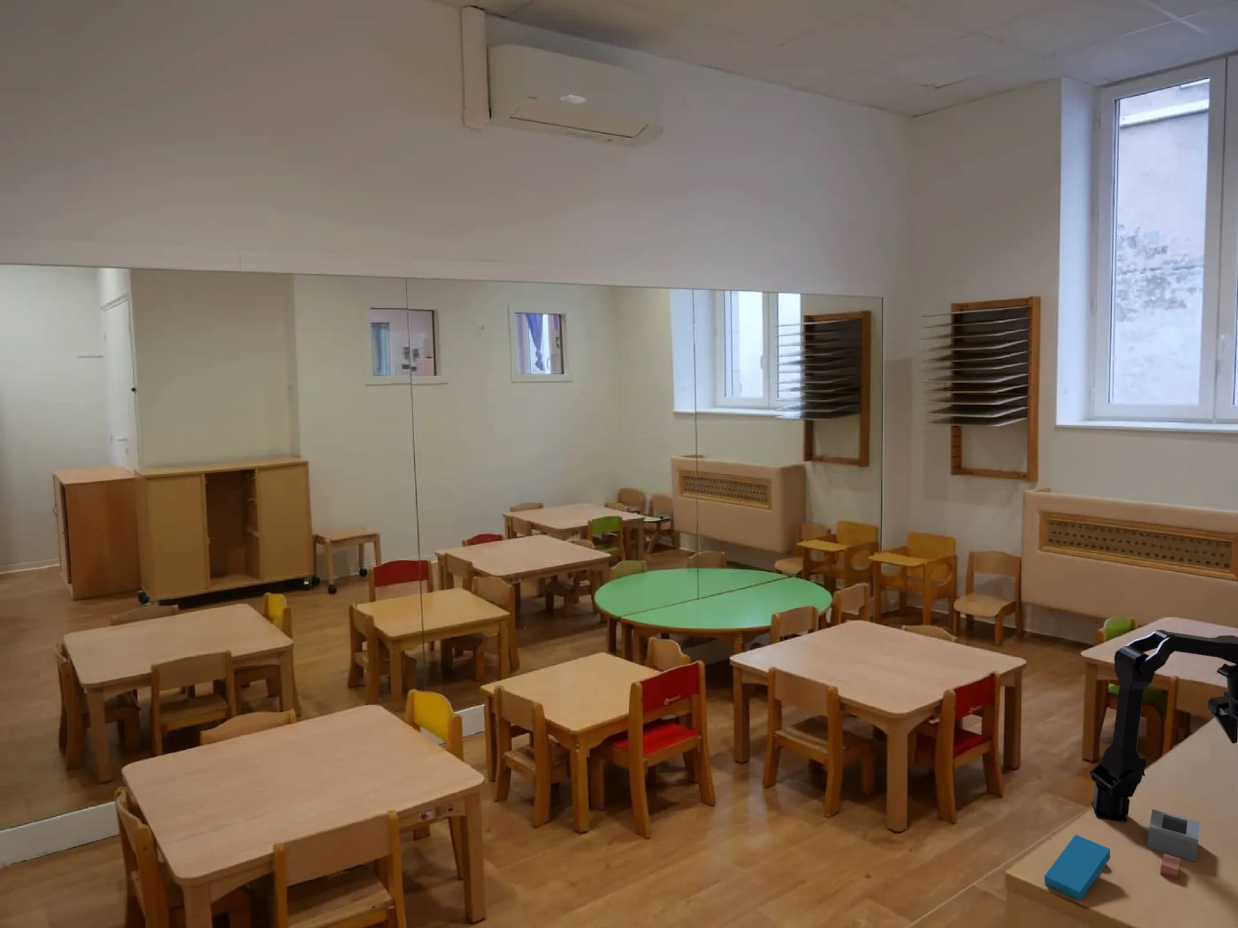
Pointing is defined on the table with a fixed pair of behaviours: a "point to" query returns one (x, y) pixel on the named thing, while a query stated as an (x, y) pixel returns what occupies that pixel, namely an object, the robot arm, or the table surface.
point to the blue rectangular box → (1077, 867)
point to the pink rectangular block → (1170, 866)
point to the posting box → (1173, 835)
